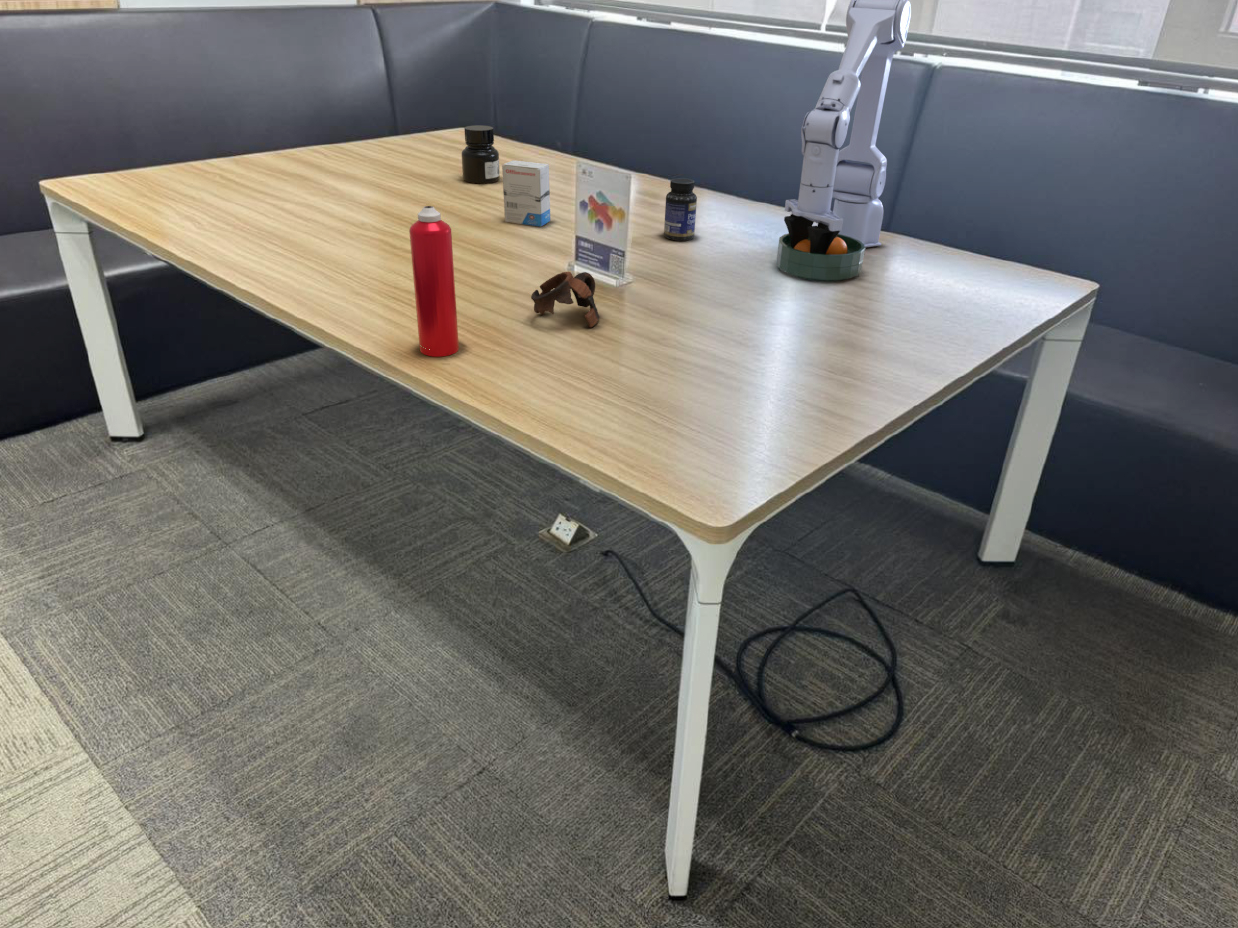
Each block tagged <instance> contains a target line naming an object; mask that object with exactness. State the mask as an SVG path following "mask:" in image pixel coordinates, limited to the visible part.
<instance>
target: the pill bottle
mask: <svg viewBox="0 0 1238 928" xmlns="http://www.w3.org/2000/svg"><path fill="white" fill-rule="evenodd" d="M669 187H670V191H669V192H667V194H666V196H665V207H664V208H665V209H664V226H663V227H664V229H663V235H664V237H665V238H667V239H668V240H672V241H677V242H678V241H679V242H685V241H690V240H693V239H694V237H695V230H696V218H697V203H698V202H697V201H698V196H697V195H696V193H695V192H694V189H695V180H693V179H691V178H690V179H689V178H679V177H678V178H672V179H670V185H669Z"/></svg>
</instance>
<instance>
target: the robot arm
mask: <svg viewBox="0 0 1238 928" xmlns="http://www.w3.org/2000/svg"><path fill="white" fill-rule="evenodd" d="M911 16H912V6H911V2H910V0H850V2H849V4H848V8H847V9H846V16H845V25H846V33H847V42H846V45H845V48H844V50H843V54H842V58H841V60H840V64H839V66H838V70H837V69H836V70H834V71H832V72H831V73H830V74H829V75H828V76H827V79H826V82H825V84H824V86H823V89H822V91H821V93H820V95H819V98H818V100H817V102H816V105H815V107H814V108H813V109H812V110H811V111H808V112H806V114H805V116H804V118H803V120H802V121H803V122H802V125H801V131H800V138H801V155H802V156H803V159H802V167H801V175H800V182H799V183H800V184H799V191H798V198H797V199H795V198H793V199H792V198H791V199H785V205H784V211H785V212H788V213H791V214H790V215H786V216H784V218H783V221H784V224H785V226H786V229H787V232H788V233H789V236H790V242H791V248H793V249H794V247H795V246H796V245H797V244H798V243H799V242H800V241H802V240H806V239H808V236H809V237H810V253H815V254H826V253H827V250H828V248H829V246H830V245H831V243H832V241H833V240H834V238H835V237H836V236H837V235H838V234H842V235H846V236H849V237H852V238H855V239H857V240H859V241H861V242H862V243H863V244H864V245H865V248H873V247H881V245H882V243H881V242H880V235H881V230H882V224H883V220H884V206H883V203H882V201H881V200H880V199H879V198H880V197H881V195H882V194H883V192H884V189H885V185H886V180H887V165H888V159H887V158H886V156H885V155H884V154H883V153H882V152H881V151H880V150H879V148H878V147H877V146H876V144H877V138H878V133H879V128H880V124H881V117H882V112H883V107H884V102H885V98H886V97H885V96H886V92H887V87H888V82H889V78H890V77H889V76H890V71H891V67H892V62H893V60H894V59H893V58H894V56H895V52H898V51H900V50H902V49H904V47H905V43H906V41H907V37H908V32H909V27H910V21H911ZM860 74H861V78H860V79H859V76H860ZM856 99H857V101H856ZM855 102H856V106H855V110H854V111H855V112H854V117H853V122H852V127H851V134H850V138H849V139H850V141H849V145H847V146H845V147H843V148H841V147H842V146H843V145H844V143H845V140H846V138H847V134H848V129H849V124H850V122H851V115H850V113H851V112H852V108H853V106H854V104H855ZM860 162H861V163H860ZM865 163H866V164H865ZM833 199H834V202H833V209H832V210H831V208H832V201H833ZM814 223H816V224H817V225H814Z"/></svg>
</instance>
